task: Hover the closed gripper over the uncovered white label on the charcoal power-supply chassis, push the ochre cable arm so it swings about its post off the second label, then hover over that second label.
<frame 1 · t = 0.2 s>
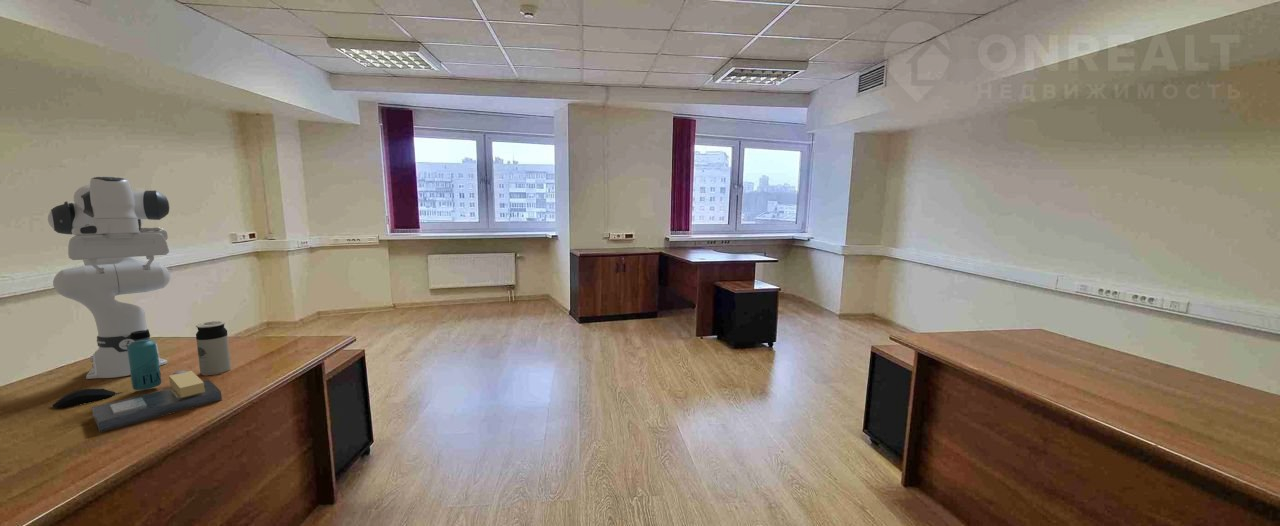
hand: (124, 271, 135), 39 cm above the table, tool pointing down, fingers open, 8 cm apart
beverage bottle: (148, 390, 139), on the table
travel mug: (216, 371, 155), on the table
cable arm: (185, 382, 133), point 6 cm above the table, hinge at 0.0°
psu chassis: (160, 407, 128), on the table
gaming mouse: (93, 401, 133), on the table
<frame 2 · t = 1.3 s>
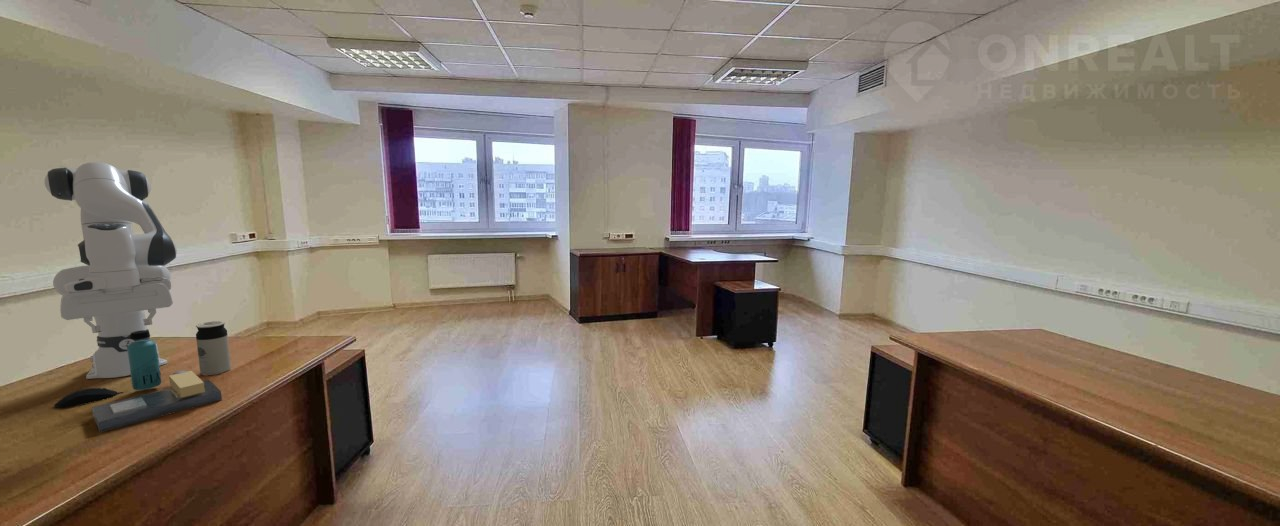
hand: (123, 328, 122), 25 cm above the table, tool pointing down, fingers open, 8 cm apart
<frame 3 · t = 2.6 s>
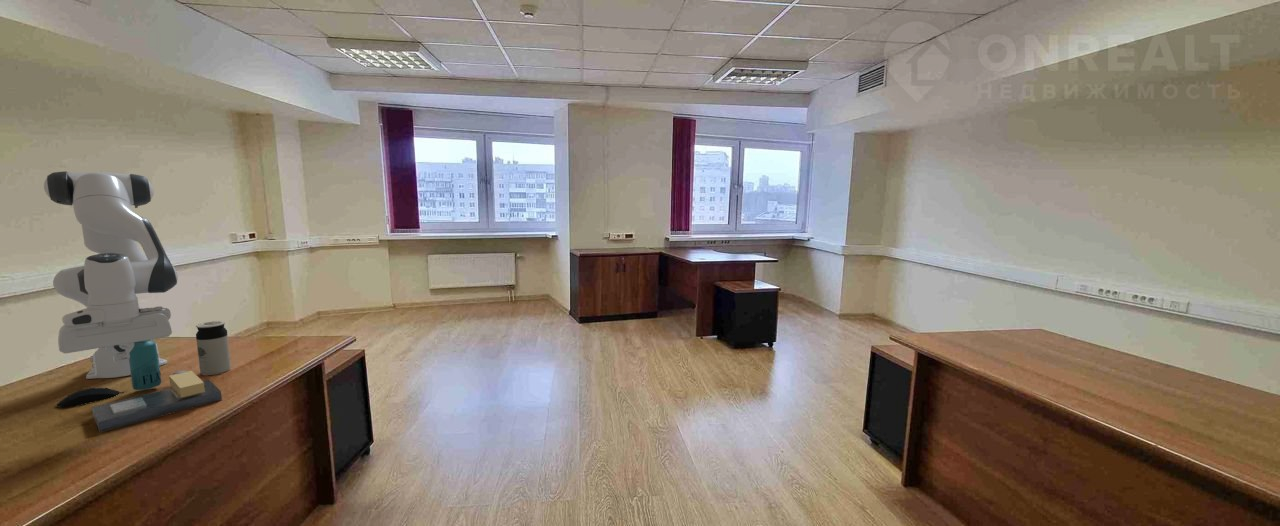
hand: (121, 359, 121), 17 cm above the table, tool pointing down, fingers closed
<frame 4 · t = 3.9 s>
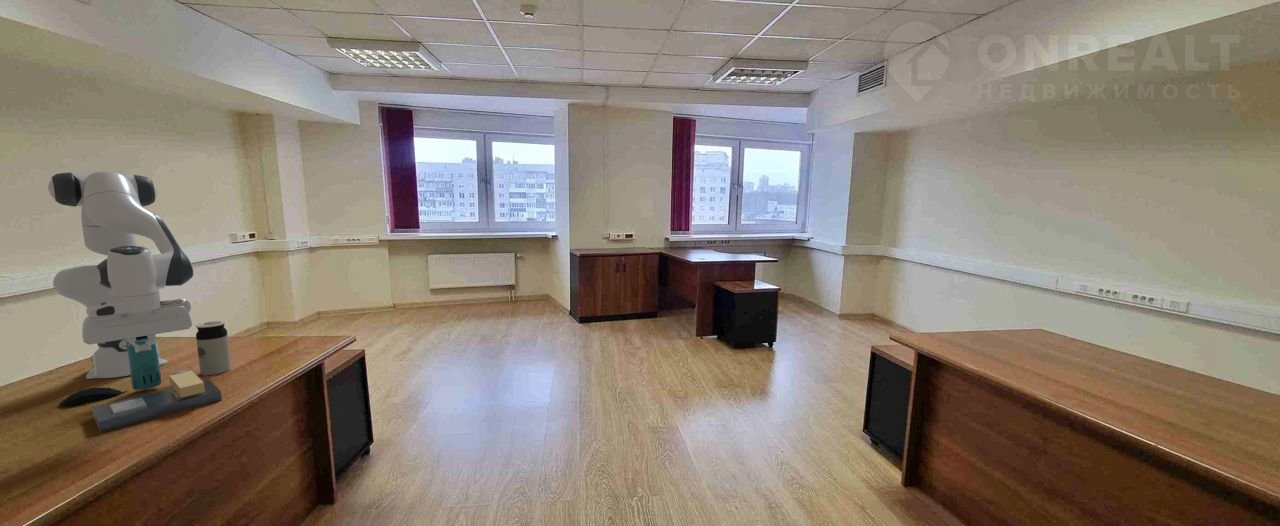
hand: (143, 351, 122), 19 cm above the table, tool pointing down, fingers closed
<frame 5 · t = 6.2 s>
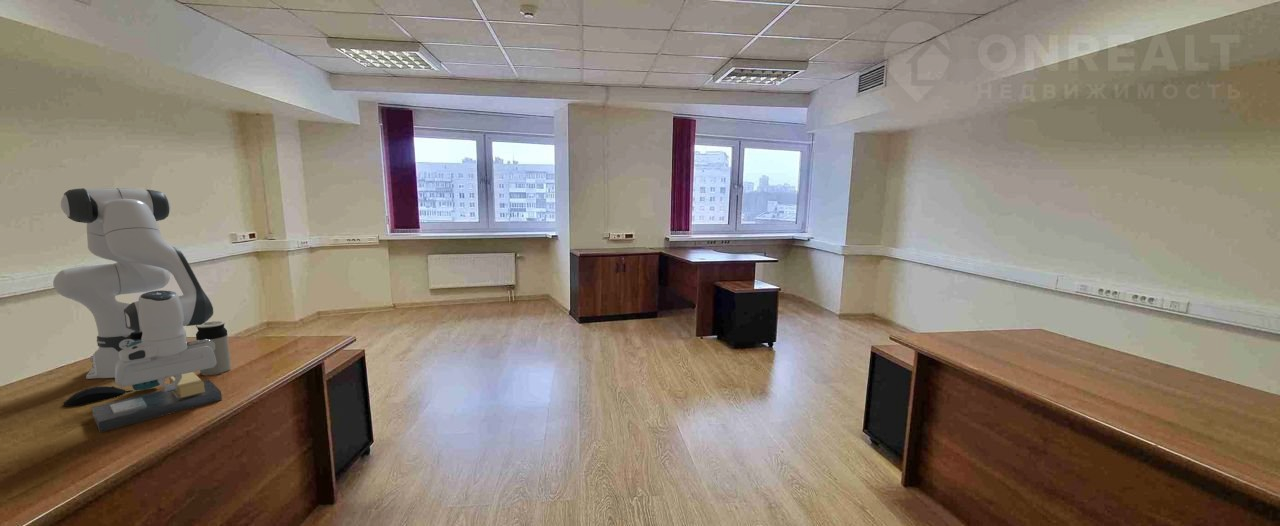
hand: (171, 390, 128), 6 cm above the table, tool pointing down, fingers closed
cable arm: (185, 382, 133), point 6 cm above the table, hinge at 0.0°, touching gripper
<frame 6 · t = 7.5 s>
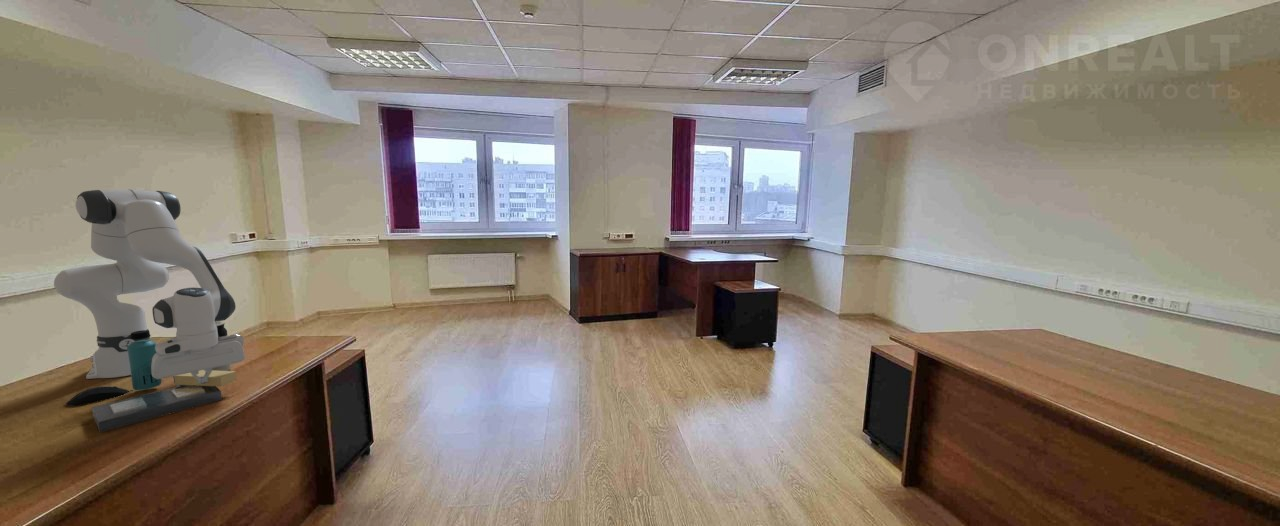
hand: (202, 383, 133), 6 cm above the table, tool pointing down, fingers closed
cable arm: (202, 377, 137), point 6 cm above the table, hinge at 32.6°, touching gripper
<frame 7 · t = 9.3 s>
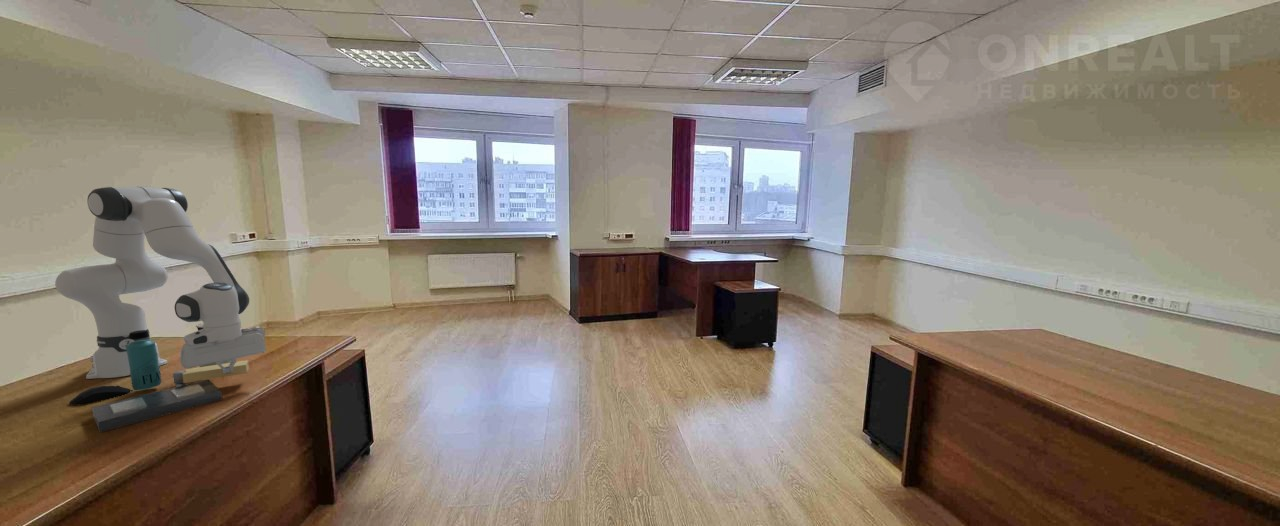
hand: (227, 372, 141), 6 cm above the table, tool pointing down, fingers closed
cable arm: (211, 371, 142), point 6 cm above the table, hinge at 71.3°, touching gripper
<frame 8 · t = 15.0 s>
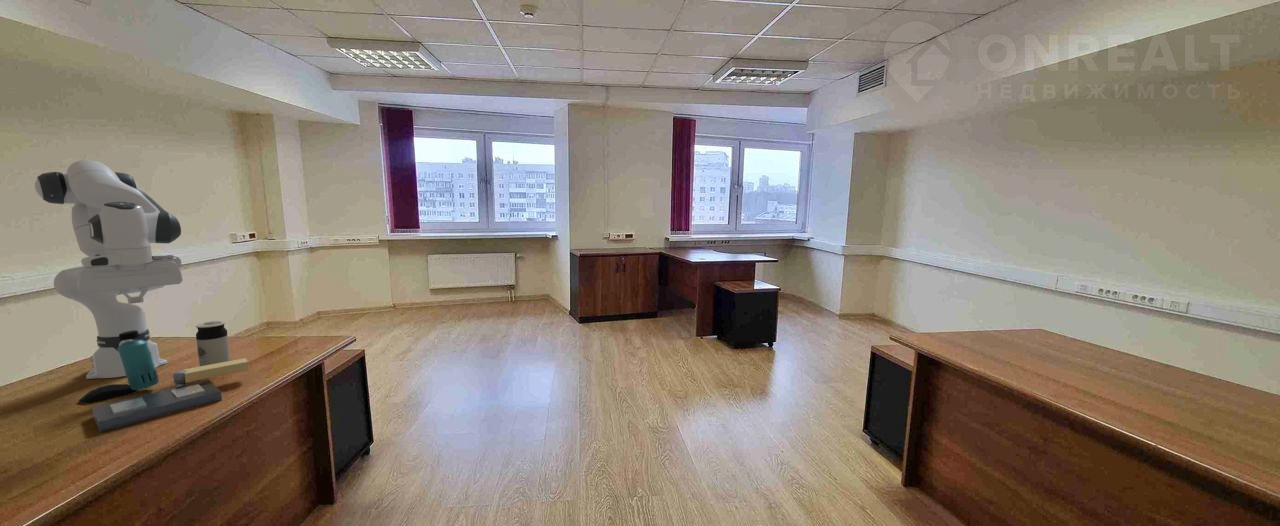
hand: (136, 302, 129), 31 cm above the table, tool pointing down, fingers closed
cable arm: (212, 370, 143), point 6 cm above the table, hinge at 82.0°
gaming mouse: (117, 396, 136), on the table
at the end: cable arm at +82° (first picture: +0°); beverage bottle moved 0.2 cm from its start; travel mug moved 0.2 cm from its start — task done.
